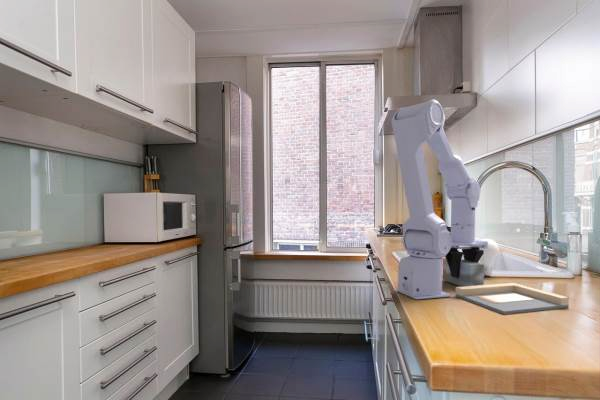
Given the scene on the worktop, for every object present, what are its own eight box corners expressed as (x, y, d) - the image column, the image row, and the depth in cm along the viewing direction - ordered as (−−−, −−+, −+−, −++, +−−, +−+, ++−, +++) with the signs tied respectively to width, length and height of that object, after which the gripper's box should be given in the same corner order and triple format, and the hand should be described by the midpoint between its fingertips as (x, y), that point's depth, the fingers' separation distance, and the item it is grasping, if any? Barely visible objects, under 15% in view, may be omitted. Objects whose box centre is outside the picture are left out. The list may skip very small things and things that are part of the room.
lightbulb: (477, 272, 105) (477, 237, 105) (500, 276, 101) (501, 238, 101) (472, 276, 100) (472, 238, 100) (496, 279, 96) (497, 240, 96)
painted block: (470, 289, 84) (470, 264, 84) (442, 280, 94) (442, 258, 94) (483, 288, 86) (483, 264, 86) (454, 279, 95) (455, 257, 95)
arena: (504, 314, 66) (504, 303, 66) (455, 296, 79) (455, 287, 79) (568, 307, 71) (568, 297, 71) (513, 291, 84) (513, 282, 84)
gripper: (450, 226, 84) (449, 281, 84) (497, 225, 88) (497, 278, 88) (431, 224, 91) (431, 275, 91) (476, 223, 95) (475, 272, 95)
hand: (462, 276), depth 90 cm, fingers closed on painted block, 4 cm apart
